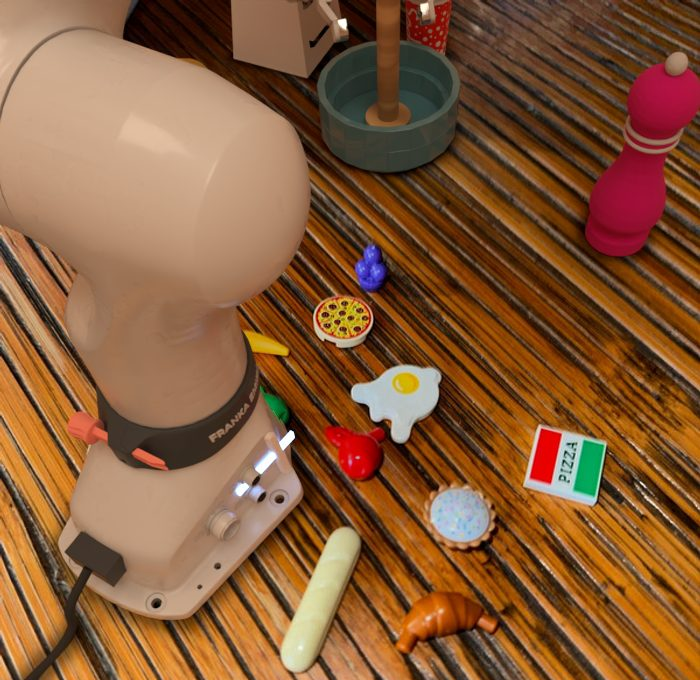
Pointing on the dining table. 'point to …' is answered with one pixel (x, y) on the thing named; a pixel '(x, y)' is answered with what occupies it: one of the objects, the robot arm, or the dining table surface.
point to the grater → (280, 34)
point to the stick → (388, 69)
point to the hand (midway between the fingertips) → (384, 32)
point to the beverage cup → (431, 33)
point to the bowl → (414, 92)
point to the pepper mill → (642, 158)
